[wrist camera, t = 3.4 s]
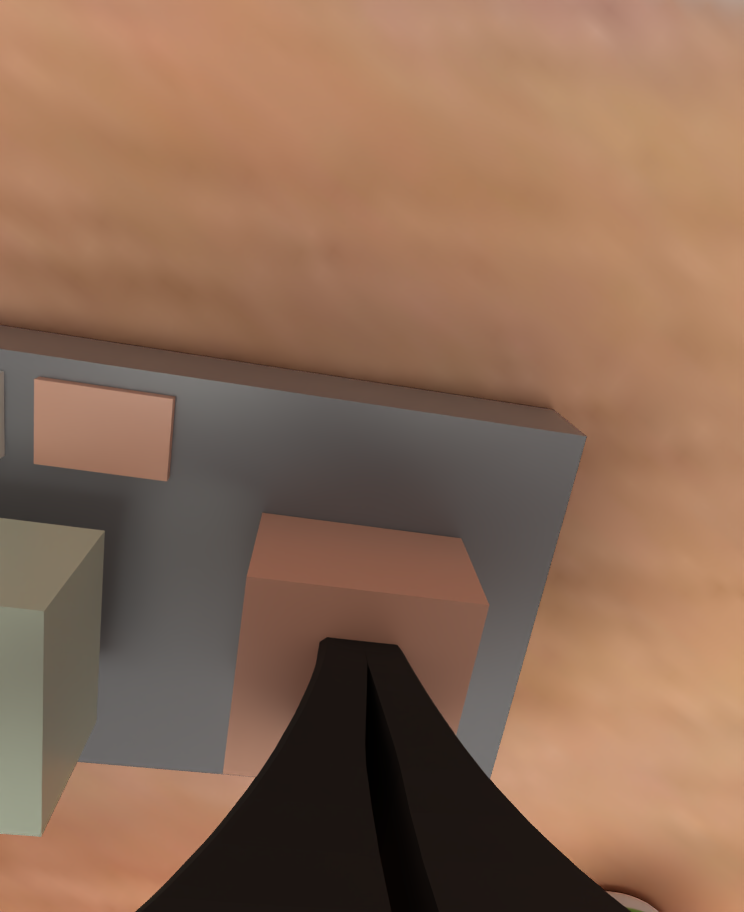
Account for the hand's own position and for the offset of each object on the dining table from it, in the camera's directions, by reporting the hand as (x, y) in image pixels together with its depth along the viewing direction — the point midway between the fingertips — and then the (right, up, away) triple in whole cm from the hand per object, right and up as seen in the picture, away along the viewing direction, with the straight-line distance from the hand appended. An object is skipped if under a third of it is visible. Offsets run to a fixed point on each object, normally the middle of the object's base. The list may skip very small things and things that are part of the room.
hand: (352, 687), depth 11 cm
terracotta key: (0, +1, +2) cm, 2 cm away
